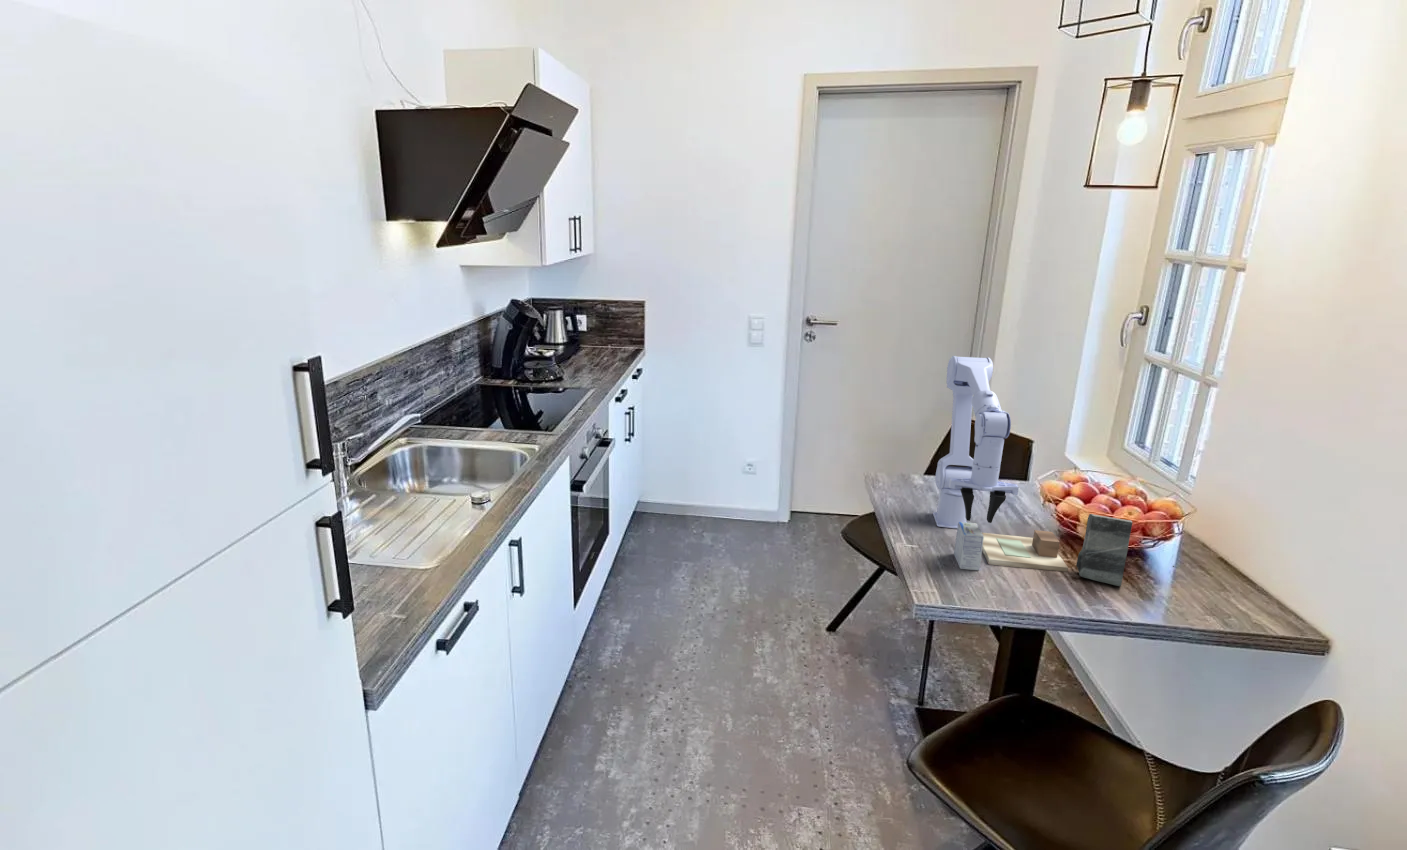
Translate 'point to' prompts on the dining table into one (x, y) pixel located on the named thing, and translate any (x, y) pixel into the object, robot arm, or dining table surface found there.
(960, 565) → the medicine box
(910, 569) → the dining table surface
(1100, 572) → the stone block
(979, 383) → the robot arm
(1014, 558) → the base board
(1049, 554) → the walnut block
